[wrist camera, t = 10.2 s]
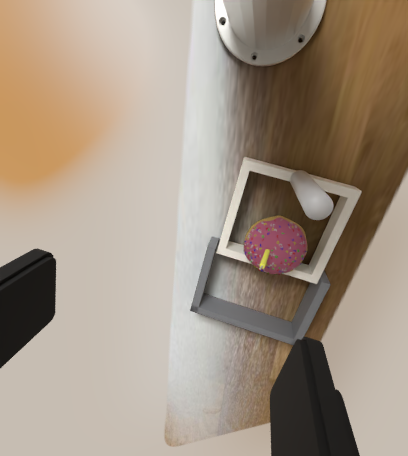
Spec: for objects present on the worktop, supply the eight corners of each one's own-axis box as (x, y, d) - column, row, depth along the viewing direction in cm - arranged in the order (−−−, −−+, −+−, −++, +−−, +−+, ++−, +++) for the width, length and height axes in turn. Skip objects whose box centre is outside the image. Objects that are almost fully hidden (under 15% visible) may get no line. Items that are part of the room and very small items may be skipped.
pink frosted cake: (242, 253, 44) (236, 296, 33) (249, 203, 41) (245, 232, 30) (296, 262, 43) (309, 310, 32) (308, 211, 39) (327, 244, 28)
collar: (246, 152, 38) (236, 169, 24) (356, 182, 36) (417, 219, 22) (219, 244, 44) (198, 303, 29) (313, 273, 42) (339, 349, 28)
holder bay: (212, 236, 44) (207, 246, 40) (324, 270, 42) (330, 284, 39) (195, 296, 49) (190, 310, 45) (295, 329, 47) (298, 346, 43)
